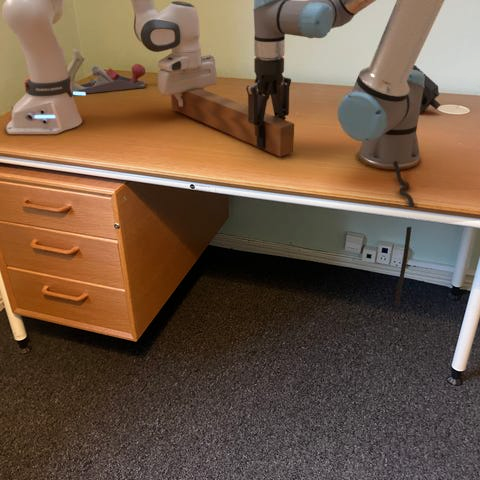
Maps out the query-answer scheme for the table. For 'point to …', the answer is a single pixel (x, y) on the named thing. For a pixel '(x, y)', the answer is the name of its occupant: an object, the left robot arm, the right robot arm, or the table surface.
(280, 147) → the bar
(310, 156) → the table surface
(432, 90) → the tool
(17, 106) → the left robot arm
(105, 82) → the hand plane
